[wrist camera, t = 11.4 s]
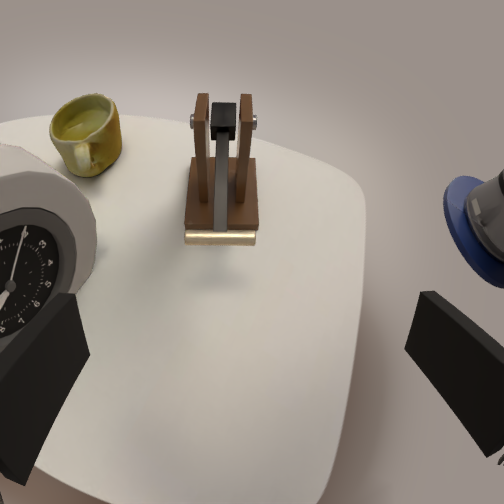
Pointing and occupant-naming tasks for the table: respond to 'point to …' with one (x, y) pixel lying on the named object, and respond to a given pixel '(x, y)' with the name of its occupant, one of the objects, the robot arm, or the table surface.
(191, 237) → the switch lever
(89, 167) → the mug
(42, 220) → the alarm clock
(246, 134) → the wooden lever stand
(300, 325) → the table surface
